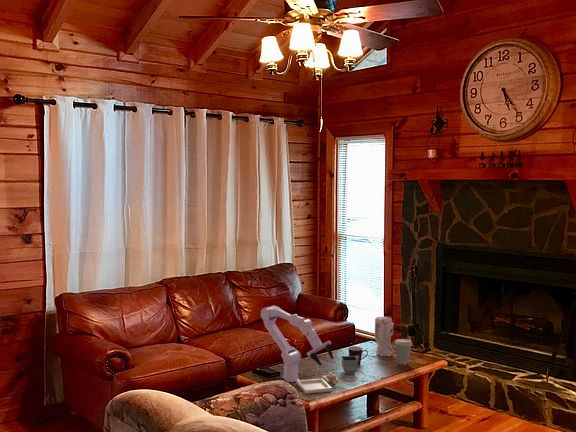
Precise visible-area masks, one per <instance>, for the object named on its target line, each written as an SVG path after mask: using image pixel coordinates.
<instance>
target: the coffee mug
mask: <svg viewBox="0 0 576 432" xmlns="http://www.w3.org/2000/svg"><path fill="white" fill-rule="evenodd" d="M347 348H348V356H356V357H357V359H358V365H359V366H361V363H362V362H361V361H362V360H364V359H365V358H366V357H367V356H368V355H369V351H368V350H367V349H364V348H363V347H361V346H355V345H353V346H349V347H347ZM364 352H367V353H366V354H365V356H363V357H362V355H363V353H364Z"/></svg>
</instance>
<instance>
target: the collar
mask: <svg viewBox="0 0 576 432" xmlns="http://www.w3.org/2000/svg"><path fill="white" fill-rule="evenodd" d="M328 377H329V374H328V375H322V376H321V378H322V379H323V380H324V381H325V382H326V383H328V384H329V383H331V384H332V385H336V383H338V382H339V378H338V377H337V376H336V374H334V373H332V374H331V379H328Z"/></svg>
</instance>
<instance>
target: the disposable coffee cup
mask: <svg viewBox="0 0 576 432" xmlns="http://www.w3.org/2000/svg"><path fill="white" fill-rule="evenodd" d="M394 344H395V346H394V347H395V357H396V363H399V364H407V363H408V364H409V360H410V359H409V358H410V355H411V349H412V346H413V342H412V340H410V339H406V338H398V339H395V340H394ZM399 364H398V365H399ZM408 364H407V365H408Z"/></svg>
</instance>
